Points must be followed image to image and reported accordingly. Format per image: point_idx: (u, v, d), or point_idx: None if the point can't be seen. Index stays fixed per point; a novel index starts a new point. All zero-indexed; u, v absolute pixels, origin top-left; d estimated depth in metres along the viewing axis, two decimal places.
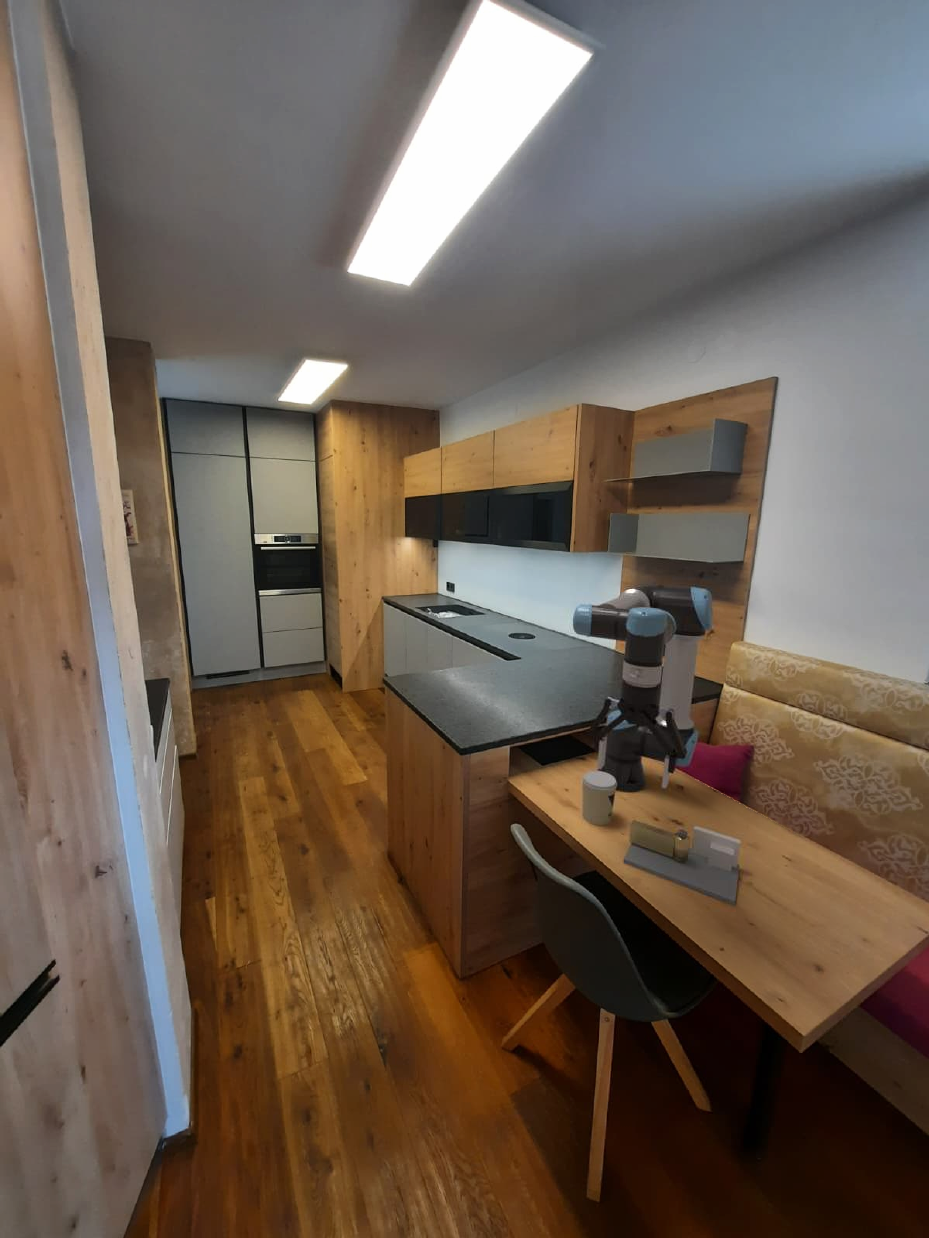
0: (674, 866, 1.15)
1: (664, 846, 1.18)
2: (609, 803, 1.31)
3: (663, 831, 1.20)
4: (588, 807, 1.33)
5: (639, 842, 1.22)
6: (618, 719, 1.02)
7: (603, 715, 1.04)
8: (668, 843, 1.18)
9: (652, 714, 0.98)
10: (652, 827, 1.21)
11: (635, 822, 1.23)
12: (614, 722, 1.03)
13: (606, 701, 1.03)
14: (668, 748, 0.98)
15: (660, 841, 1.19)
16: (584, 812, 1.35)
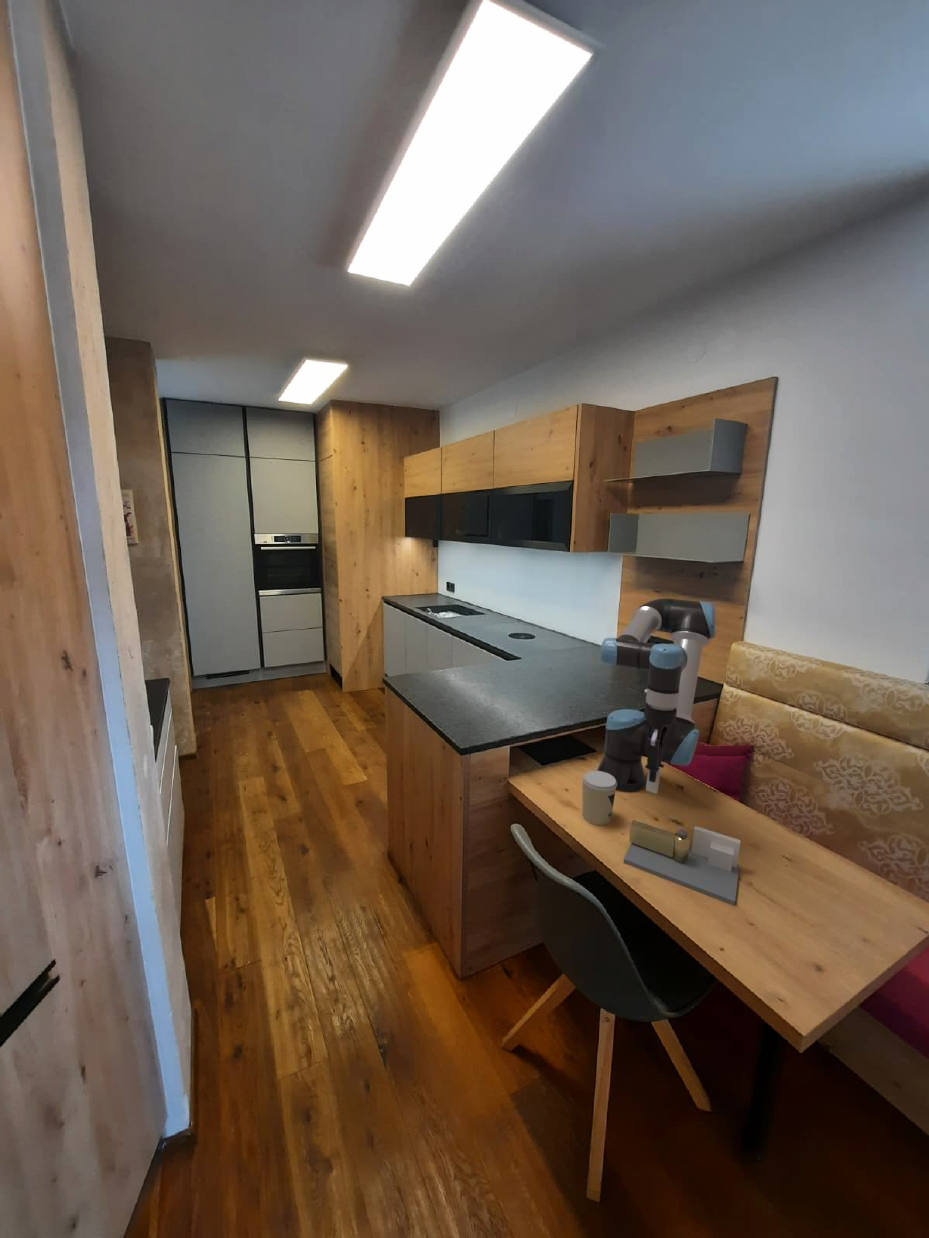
0: (674, 866, 1.15)
1: (664, 846, 1.18)
2: (609, 803, 1.31)
3: (663, 831, 1.20)
4: (588, 807, 1.33)
5: (639, 842, 1.22)
6: None
7: None
8: (668, 843, 1.18)
9: None
10: (652, 827, 1.21)
11: (635, 822, 1.23)
12: None
13: None
14: None
15: (660, 841, 1.19)
16: (584, 812, 1.35)
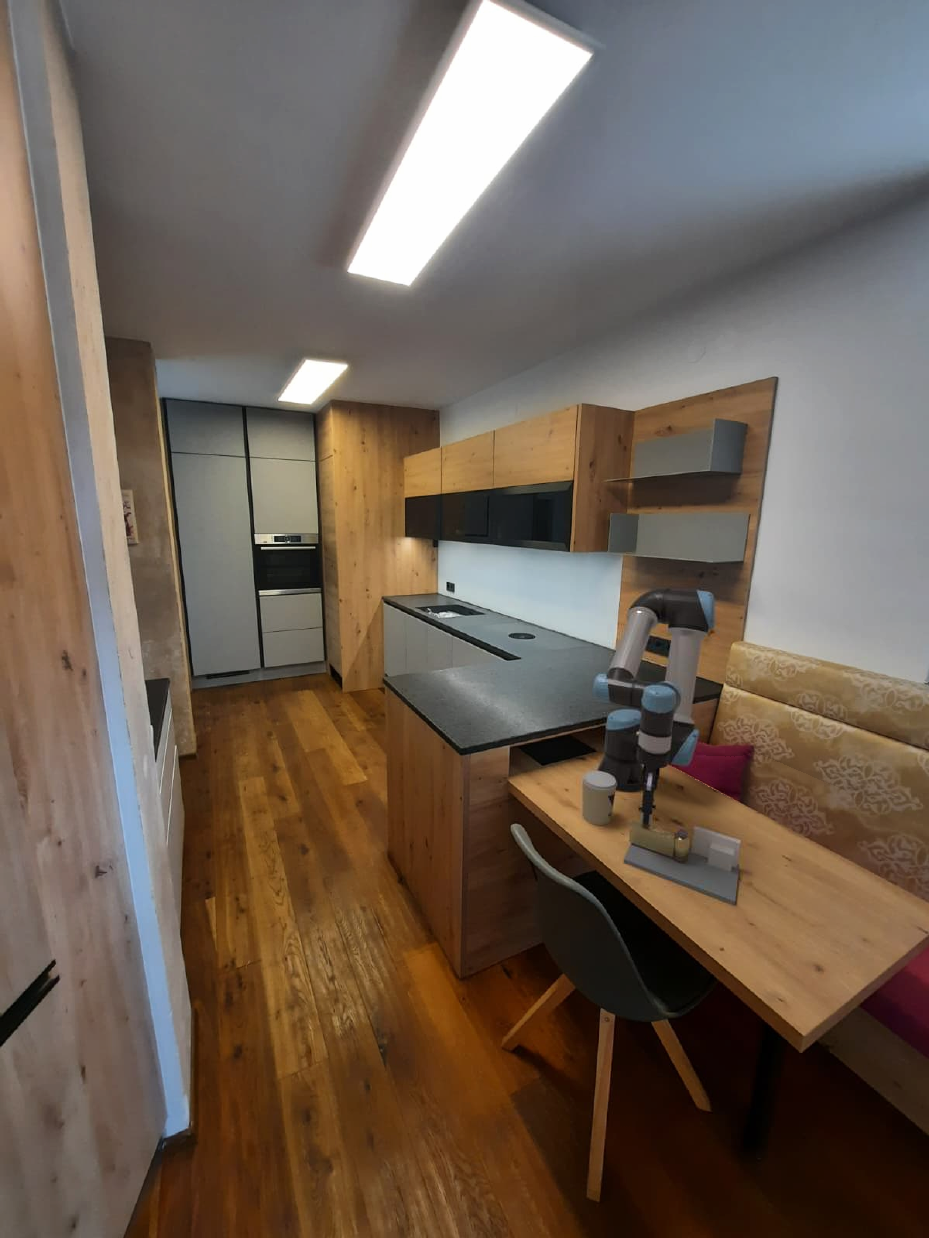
0: (674, 866, 1.15)
1: (664, 846, 1.18)
2: (609, 803, 1.31)
3: (663, 831, 1.20)
4: (588, 807, 1.33)
5: (639, 842, 1.22)
6: None
7: None
8: (668, 843, 1.18)
9: (645, 773, 1.18)
10: (652, 827, 1.21)
11: (635, 822, 1.23)
12: None
13: None
14: None
15: (660, 841, 1.19)
16: (584, 812, 1.35)
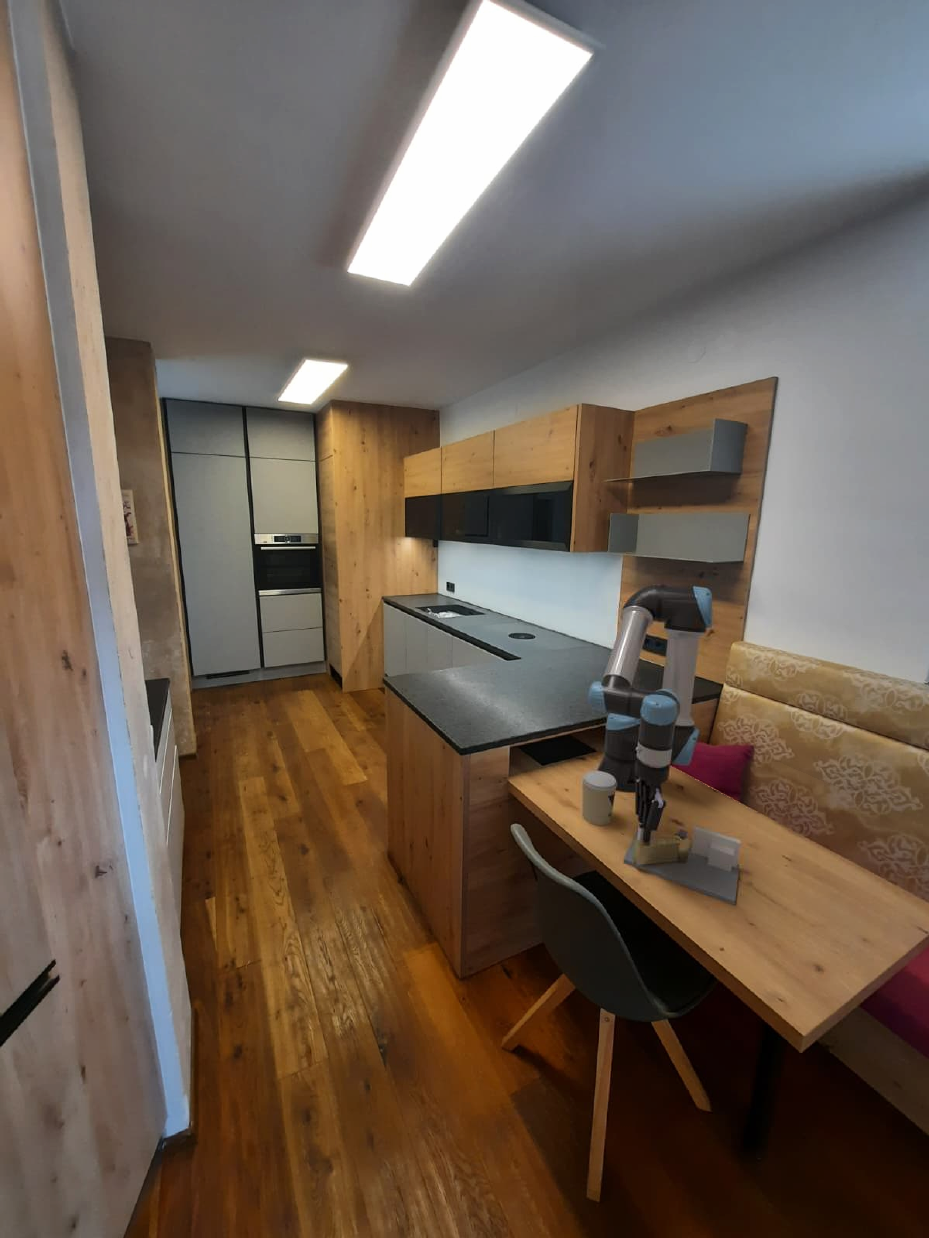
0: (674, 866, 1.15)
1: (670, 853, 1.16)
2: (609, 803, 1.31)
3: (664, 839, 1.17)
4: (588, 807, 1.33)
5: (647, 861, 1.15)
6: (639, 793, 1.16)
7: (636, 790, 1.19)
8: (674, 849, 1.16)
9: (650, 790, 1.11)
10: (654, 839, 1.16)
11: (638, 841, 1.15)
12: (640, 798, 1.17)
13: (634, 776, 1.20)
14: (644, 819, 1.14)
15: (667, 850, 1.15)
16: (584, 812, 1.35)
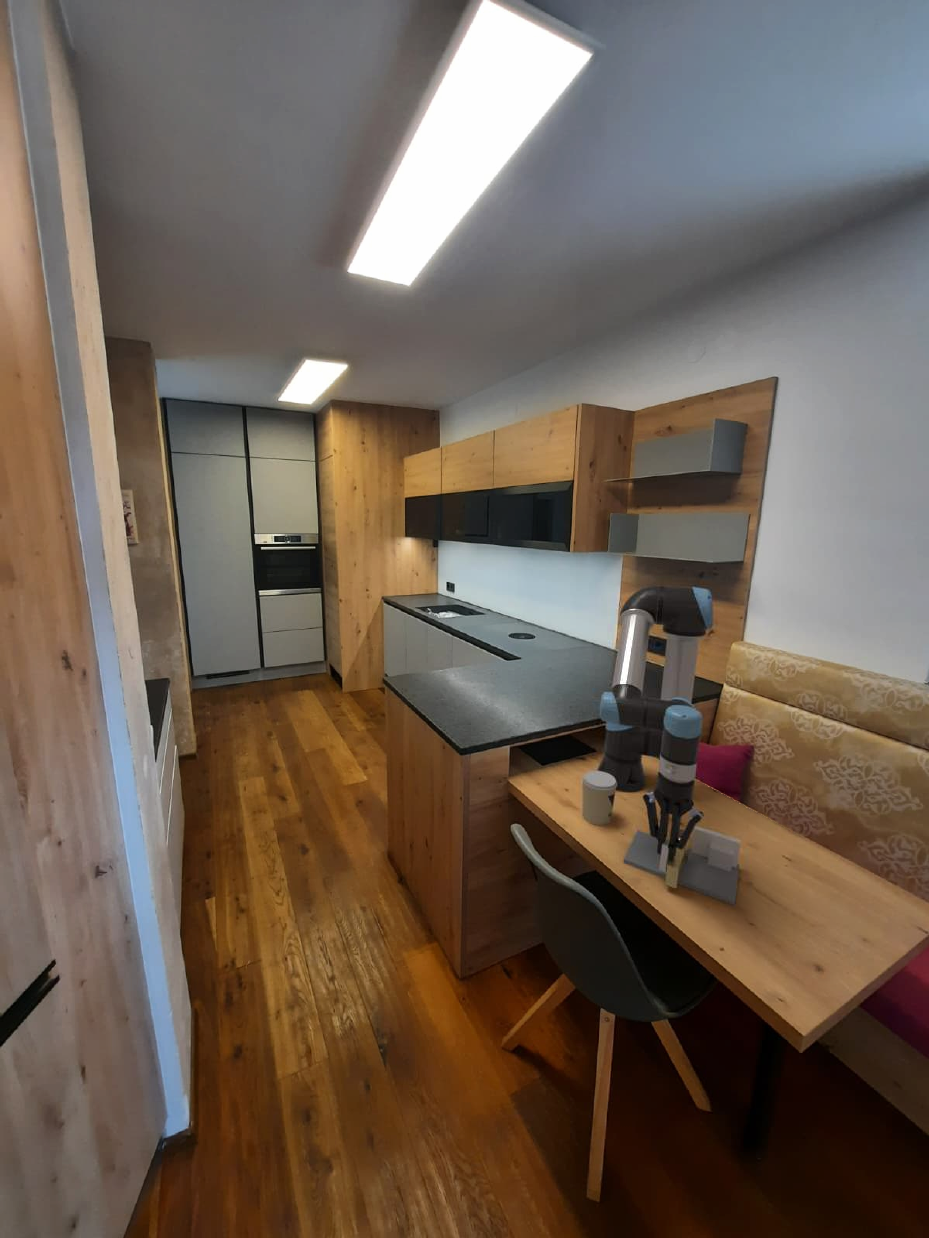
0: None
1: (683, 859, 1.14)
2: (609, 803, 1.31)
3: None
4: (588, 807, 1.33)
5: (678, 878, 1.09)
6: (661, 813, 1.08)
7: (651, 812, 1.10)
8: (684, 853, 1.14)
9: (684, 807, 1.05)
10: None
11: (671, 864, 1.08)
12: (661, 818, 1.09)
13: (644, 797, 1.11)
14: (674, 839, 1.08)
15: (683, 858, 1.13)
16: (584, 812, 1.35)
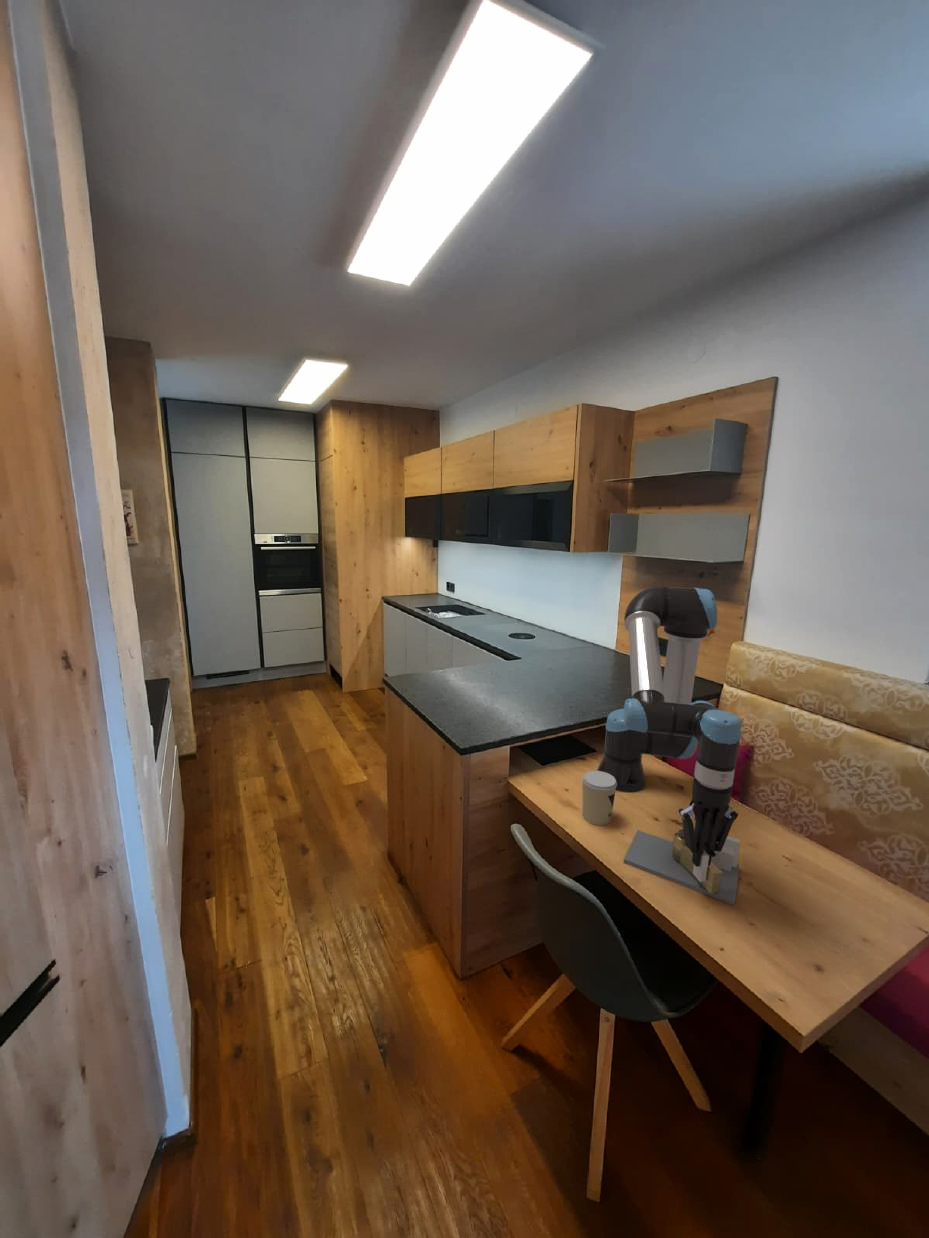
0: (674, 866, 1.15)
1: None
2: (609, 803, 1.31)
3: None
4: (588, 807, 1.33)
5: None
6: (705, 825, 1.04)
7: (692, 828, 1.04)
8: None
9: (724, 809, 1.04)
10: None
11: (713, 870, 1.06)
12: (703, 830, 1.05)
13: (686, 817, 1.03)
14: (714, 845, 1.06)
15: None
16: (584, 812, 1.35)
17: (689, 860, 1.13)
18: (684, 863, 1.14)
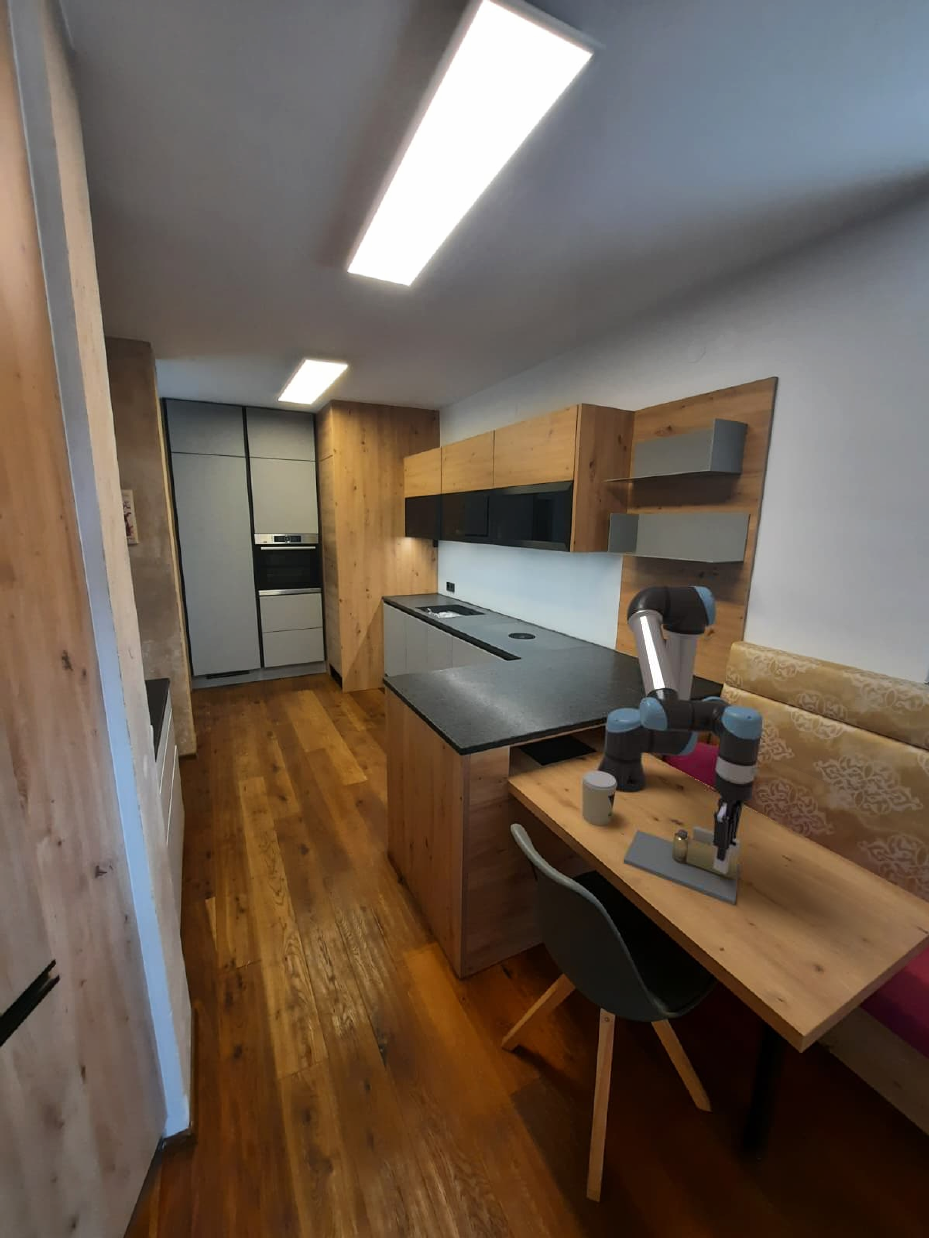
0: (674, 866, 1.15)
1: None
2: (609, 803, 1.31)
3: (701, 846, 1.14)
4: (588, 807, 1.33)
5: None
6: (734, 820, 1.06)
7: (727, 828, 1.05)
8: None
9: None
10: (714, 851, 1.13)
11: (734, 857, 1.10)
12: (731, 825, 1.07)
13: (726, 819, 1.03)
14: (733, 834, 1.09)
15: None
16: (584, 812, 1.35)
17: (701, 857, 1.14)
18: (694, 861, 1.15)
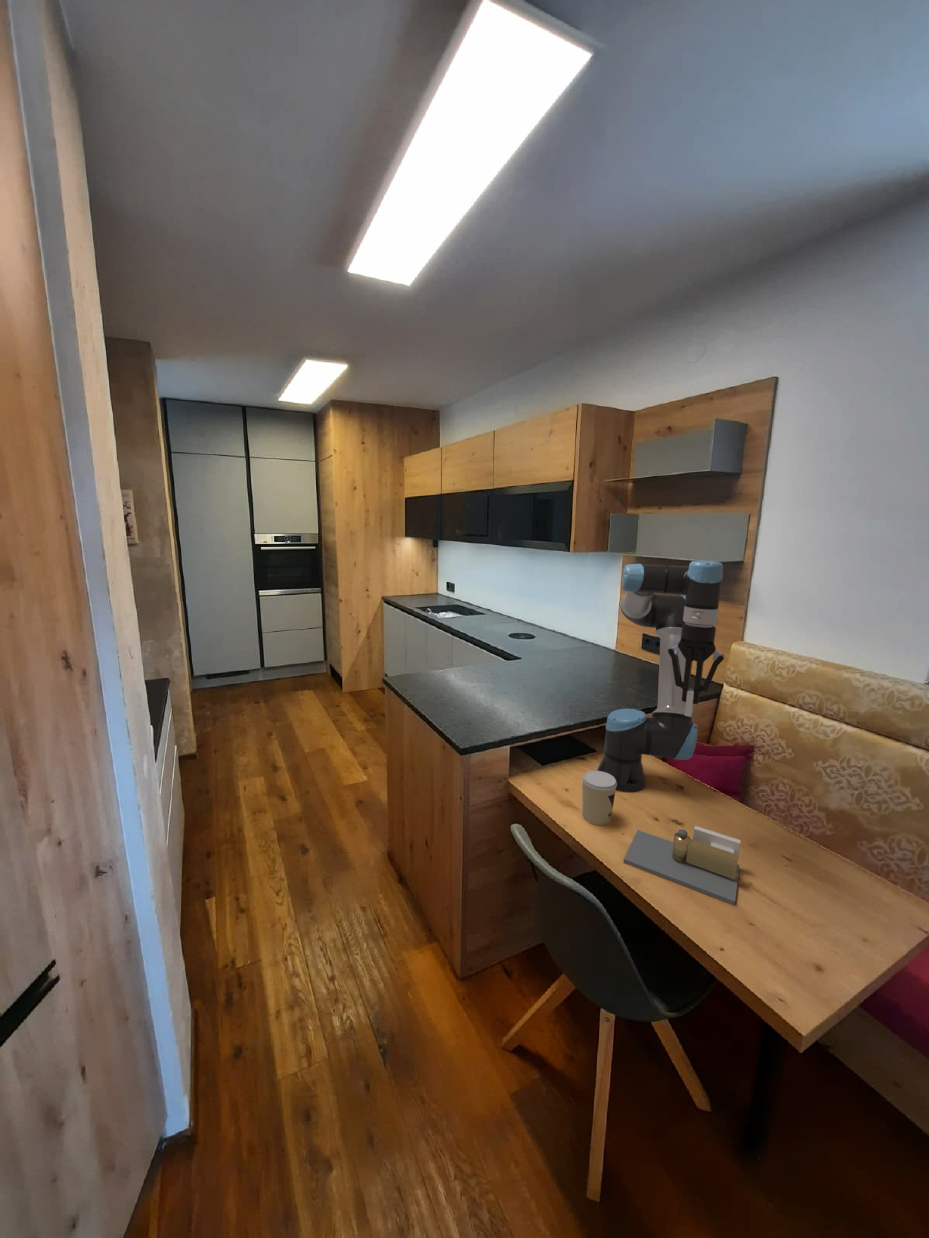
0: (674, 866, 1.15)
1: None
2: (609, 803, 1.31)
3: (701, 846, 1.14)
4: (588, 807, 1.33)
5: None
6: (687, 661, 1.19)
7: (676, 663, 1.21)
8: None
9: (708, 650, 1.17)
10: (714, 851, 1.13)
11: (734, 857, 1.10)
12: (686, 666, 1.20)
13: (669, 651, 1.21)
14: (698, 683, 1.19)
15: None
16: (584, 812, 1.35)
17: (701, 857, 1.14)
18: (694, 861, 1.15)
